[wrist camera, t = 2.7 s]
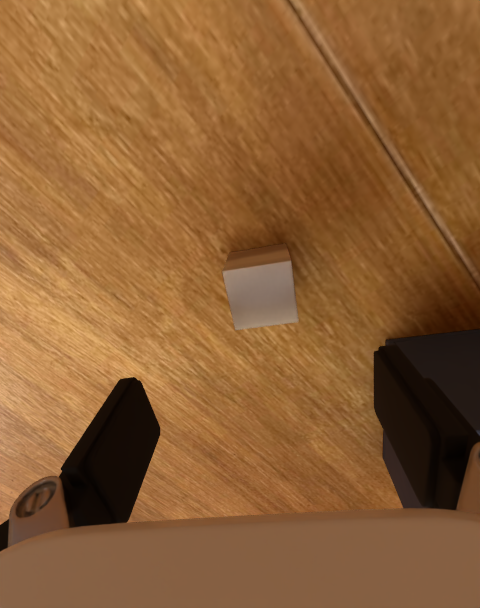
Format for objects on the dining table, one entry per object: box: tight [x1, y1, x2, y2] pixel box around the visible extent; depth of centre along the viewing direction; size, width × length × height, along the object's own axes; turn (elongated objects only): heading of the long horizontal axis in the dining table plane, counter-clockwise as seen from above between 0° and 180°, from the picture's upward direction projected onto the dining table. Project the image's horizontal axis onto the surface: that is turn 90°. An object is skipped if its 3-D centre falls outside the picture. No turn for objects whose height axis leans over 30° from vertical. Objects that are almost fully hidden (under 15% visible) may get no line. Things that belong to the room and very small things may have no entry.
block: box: [222, 243, 299, 330], centre depth 21 cm, size 4×4×4 cm
